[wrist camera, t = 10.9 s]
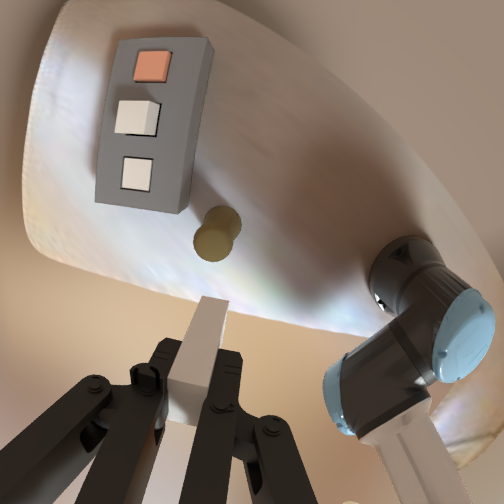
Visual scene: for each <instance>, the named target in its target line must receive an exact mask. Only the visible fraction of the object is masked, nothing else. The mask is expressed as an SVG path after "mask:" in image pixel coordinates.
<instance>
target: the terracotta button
mask: <svg viewBox="0 0 504 504" xmlns="http://www.w3.org/2000/svg"><path fill="white" fill-rule="evenodd" d="M171 58H172V54H171V53H170V52H169V51H146V52H140V53H139V57H138V61H137V65H136V69H135V74H134V78H133V80H136V81H138V82H140V83H166V81H167V76H168V72H169V67H170V63H171Z"/></svg>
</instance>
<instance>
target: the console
mask: <svg viewBox="0 0 504 504" xmlns="http://www.w3.org/2000/svg"><path fill="white" fill-rule="evenodd" d="M146 51H169V52H170V53H171V54H172V58H171V63H170V67H169V72H168V76H167V81H166V83H137V82H138V81H136V80H133V78H134V74H135V69H136V65H137V61H138V57H139V53H140V52H146ZM213 55H214V49H213V47H212V45H211V43H210V41H209V39H208V38H206V37H152V38H136V39H125V40H119V43H118V46H117V50H116V54H115V58H114V62H113V66H112V71H111V75H110V80H109V84H108V89H107V95H106V100H105V106H104V112H103V118H102V125H101V132H100V140H99V149H98V159H97V171H96V186H95V202H97V203H104V204H111V205H118V206H125V207H132V208H138V209H145V210H152V211H158V212H165V213H171V214H177V215H178V214H179V213H180V212H181V211H183V210H184V209H185V208H186V207H188V201H189V193H190V186H191V178H192V171H193V164H194V157H195V150H196V144H197V138H198V132H199V126H200V120H201V114H202V109H203V103H204V98H205V93H206V88H207V83H208V78H209V73H210V68H211V64H212V59H213ZM119 101H151V102H153V103H156V104H162V107H161V112H160V118H159V125H158V131H157V137H143V136H128V134H126V133H115V125H116V119H117V113H118V107H119ZM126 156H132V157H144V158H154V160H153V168H152V177H151V187H150V192H148V191H141V190H133V189H125V188H123V187H122V181H123V169H124V160H125V158H126Z"/></svg>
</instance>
